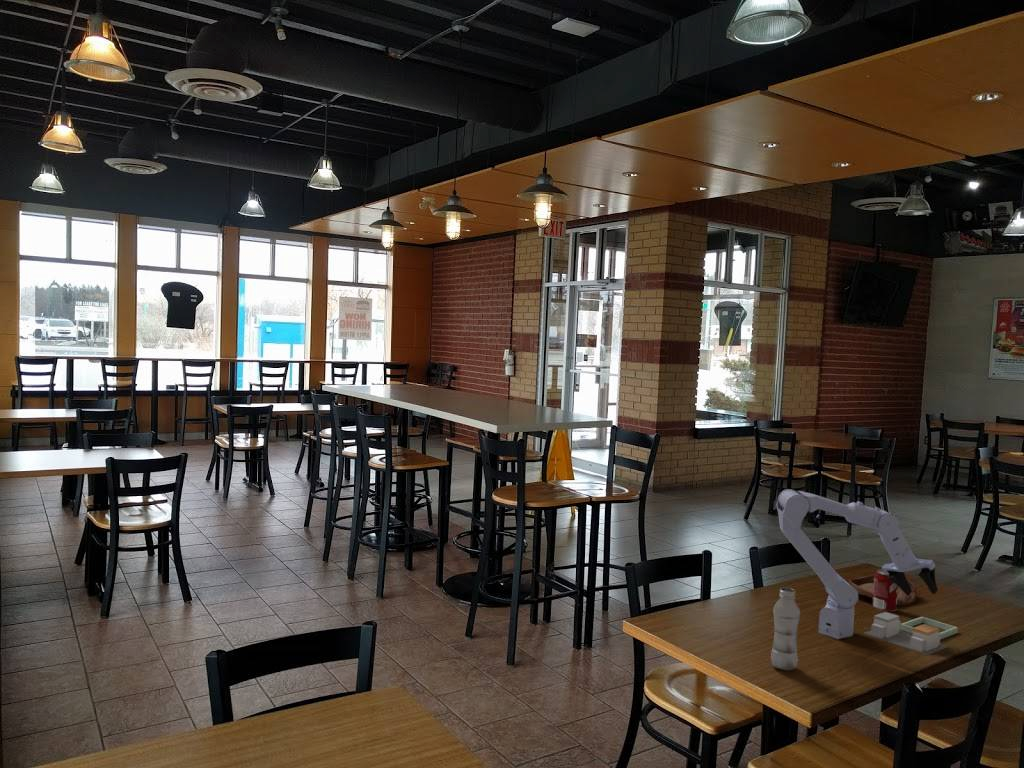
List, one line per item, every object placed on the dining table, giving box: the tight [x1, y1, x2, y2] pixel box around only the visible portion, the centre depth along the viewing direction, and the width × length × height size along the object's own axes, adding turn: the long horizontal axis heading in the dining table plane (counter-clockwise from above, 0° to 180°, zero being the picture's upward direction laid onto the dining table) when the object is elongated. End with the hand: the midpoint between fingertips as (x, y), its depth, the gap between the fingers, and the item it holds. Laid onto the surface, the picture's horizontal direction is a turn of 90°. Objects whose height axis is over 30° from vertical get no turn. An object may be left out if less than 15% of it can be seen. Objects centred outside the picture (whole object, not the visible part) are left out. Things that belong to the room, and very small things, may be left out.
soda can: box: [872, 568, 898, 613], centre depth 238 cm, size 7×7×12 cm
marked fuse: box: [912, 623, 940, 651], centre depth 206 cm, size 6×4×5 cm, turn 125°
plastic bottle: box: [770, 587, 801, 671], centre depth 190 cm, size 6×7×20 cm
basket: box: [847, 574, 918, 606], centre depth 251 cm, size 22×20×5 cm
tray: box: [900, 616, 959, 640], centre depth 218 cm, size 12×10×2 cm
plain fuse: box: [873, 611, 900, 637], centre depth 215 cm, size 6×4×5 cm, turn 125°
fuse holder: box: [863, 620, 949, 656], centre depth 210 cm, size 11×18×4 cm, turn 35°
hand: (922, 592), depth 212 cm, fingers open, 7 cm apart
